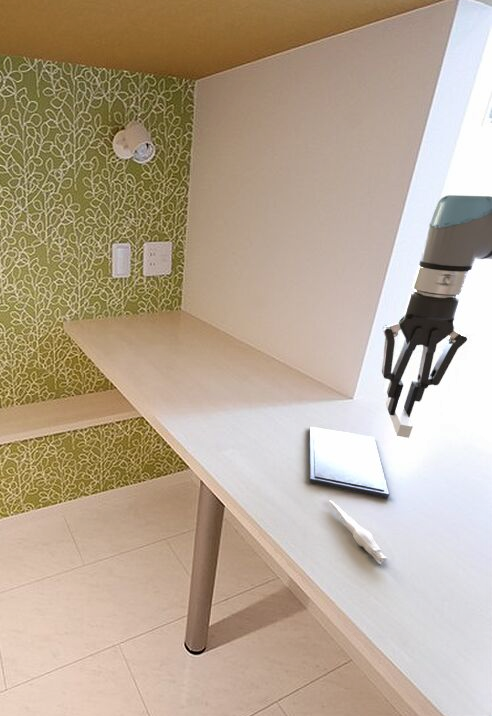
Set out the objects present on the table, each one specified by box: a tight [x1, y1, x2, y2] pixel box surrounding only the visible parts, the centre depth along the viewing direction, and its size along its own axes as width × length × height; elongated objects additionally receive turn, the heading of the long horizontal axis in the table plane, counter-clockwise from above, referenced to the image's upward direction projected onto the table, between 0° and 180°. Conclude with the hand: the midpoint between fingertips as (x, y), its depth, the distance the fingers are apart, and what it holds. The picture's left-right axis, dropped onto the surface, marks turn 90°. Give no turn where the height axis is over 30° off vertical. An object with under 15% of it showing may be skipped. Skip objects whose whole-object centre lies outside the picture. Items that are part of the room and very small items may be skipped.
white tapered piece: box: [328, 499, 388, 565], centre depth 73 cm, size 15×3×2 cm, turn 11°
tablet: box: [308, 426, 390, 499], centre depth 93 cm, size 14×22×1 cm, turn 161°
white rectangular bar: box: [385, 396, 414, 439], centre depth 86 cm, size 2×16×2 cm, turn 161°
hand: (398, 413), depth 85 cm, fingers closed on white rectangular bar, 2 cm apart
